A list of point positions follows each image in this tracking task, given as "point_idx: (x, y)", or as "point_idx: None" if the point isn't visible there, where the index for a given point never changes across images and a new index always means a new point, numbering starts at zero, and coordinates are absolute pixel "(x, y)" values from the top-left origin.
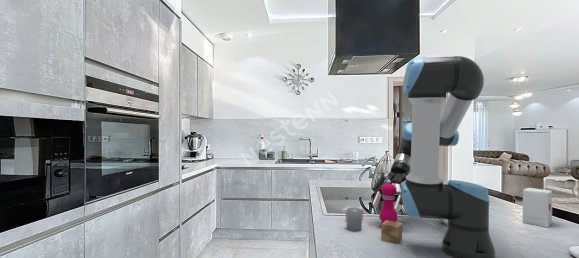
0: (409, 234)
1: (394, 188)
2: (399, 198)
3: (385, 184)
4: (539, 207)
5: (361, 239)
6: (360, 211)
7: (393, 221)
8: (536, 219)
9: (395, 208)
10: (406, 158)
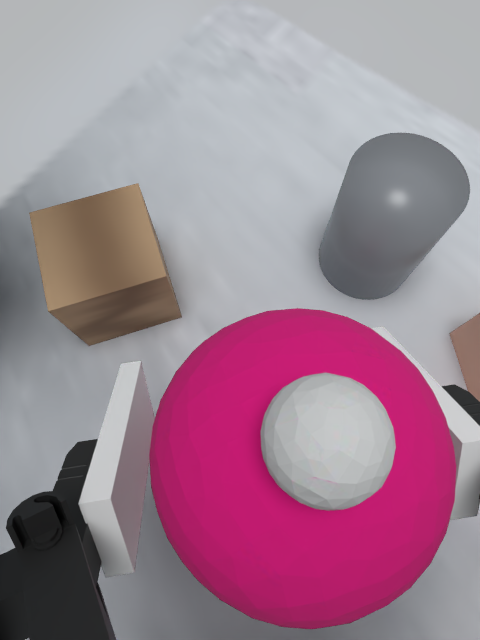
0: None
1: (153, 441)
2: (96, 453)
3: (334, 347)
4: None
5: (227, 175)
6: (347, 186)
7: (111, 291)
8: None
9: (126, 363)
10: None
